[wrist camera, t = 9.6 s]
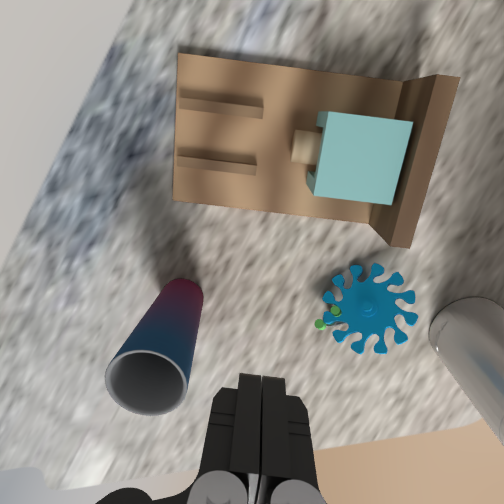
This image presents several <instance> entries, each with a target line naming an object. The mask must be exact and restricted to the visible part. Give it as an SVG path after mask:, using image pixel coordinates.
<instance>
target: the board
mask: <svg viewBox="0 0 504 504" xmlns="http://www.w3.org/2000/svg"><path fill="white" fill-rule="evenodd" d="M459 81H460V77H454V76H446V75H439V74H436V75H432V76H427V77H422V78H418V79H413V80H408V81H404V82H402V81H394V80H386V79H379V78H371V77H363V76H355V75H347V74H340V73H332V72H324V71H316V70H308V69H301V68H293V67H285V66H277V65H269V64H261V63H254V62H246V61H238V60H230V59H222V58H215V57H207V56H199V55H191V54H183V53H178V68H177V95H176V122H175V149H174V176H173V200H174V201H182V202H191V203H199V204H207V205H216V206H224V207H232V208H241V209H249V210H257V211H266V212H274V213H283V214H291V215H299V216H308V217H316V218H324V219H333V220H341V221H349V222H358V223H366V224H369V225H370V226H371V227H372V228H373V229H374V230H375V231H376V232H377V233H378V234H379V235H380V236H381V237H382V238H383V239H384V240H385V241H386V242H387V244H388V245H389V246H392V247H401V248H409V249H410V246H411V243H412V240H413V236H414V233H415V229H416V226H417V223H418V219H419V216H420V213H421V209H422V206H423V202H424V199H425V196H426V192H427V189H428V185H429V182H430V179H431V175H432V172H433V169H434V165H435V162H436V158H437V155H438V152H439V148H440V145H441V141H442V138H443V135H444V131H445V128H446V125H447V121H448V118H449V114H450V111H451V108H452V104H453V101H454V97H455V94H456V91H457V87H458V84H459ZM319 111H330V112H338V113H346V114H354V115H362V116H370V117H378V118H385V119H393V120H401V121H409V122H413V125H412V129H411V133H410V136H409V140H408V144H407V148H406V152H405V155H404V159H403V163H402V167H401V171H400V174H399V178H398V182H397V186H396V190H395V193H394V197H393V201H392V205H386V204H378V203H370V202H361V201H353V200H345V199H337V198H328V197H320V196H313V194H312V193H311V191H310V189H309V188H308V186H307V185H306V180H307V174H308V171H312V172H316V166H317V165H310V164H303V163H296V162H290V154H291V146H292V141H293V136H294V132H295V130H302V131H309V132H316V133H323V127H319V126H316V122H317V116H318V112H319Z"/></svg>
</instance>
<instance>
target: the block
mask: <svg viewBox="0 0 504 504" xmlns="http://www.w3.org/2000/svg"><path fill="white" fill-rule="evenodd" d="M412 125H413V122H409V121H401V120H393V119H385V118H378V117H370V116H362V115H354V114H346V113H338V112H330V111H319V112H318V116H317V122H316V126H319V127H323V133H322V138H321V144H320V149H319V155H318V161H317V166H316V172H312V171H308V174H307V180H306V185H307V186H308V188H309V189H310V191H311V193H312V194H313V196H320V197H328V198H337V199H345V200H353V201H361V202H370V203H378V204H386V205H392V201H393V197H394V193H395V190H396V186H397V182H398V178H399V174H400V171H401V167H402V163H403V159H404V155H405V152H406V148H407V144H408V140H409V136H410V133H411V129H412Z"/></svg>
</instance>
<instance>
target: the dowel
mask: <svg viewBox="0 0 504 504" xmlns="http://www.w3.org/2000/svg"><path fill="white" fill-rule="evenodd" d="M321 138H322V133H316V132H309V131H302V130H295V132H294V136H293V141H292V146H291V154H290V162H296V163H303V164H310V165H317V161H318V155H319V149H320V144H321Z"/></svg>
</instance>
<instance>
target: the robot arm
mask: <svg viewBox="0 0 504 504" xmlns="http://www.w3.org/2000/svg"><path fill="white" fill-rule="evenodd" d="M429 340H430V343H431V346H432V348H433V349H434V351H435V352H436V354H437V355H438V356H439V358H440V359H441V360H442V362H443V363H444V365H445V366H446V367H447V369H448V370H449V372H450V373H451V374H452V376H453V377H454V379H455V380H456V381H457V383H458V384H459V385H460V387H461V388H462V390H463V391H464V392H465V394H466V395H467V396H468V398H469V399H470V401H471V402H472V403H473V405H474V406H475V408H476V409H477V410H478V412H479V413H480V414H481V416H482V417H483V419H484V420H485V421H486V423H487V424H488V425H489V427H490V428H491V429H492V431H493V432H494V434H495V435H496V436H497V438H498V439H499V441H500V442H501V443H502V445H503V446H504V309H503V308H502V307H500V306H499V305H498V304H496V303H495V302H493V301H491V300H488V299H485V298H479V297H474V298H466V299H461V300H458V301H456V302H454V303H452V304H450V305H448V306H447V307H445V308H444V309H443V310H442V311H441V312H440V313H439V314H438V315H437V316H436V318H435V319H434V320H433V323H432V325H431V327H430V332H429ZM96 504H327V503H326V501H325V500H324V498H323V497H322V495H321V493H320V490H319V488H318V483H317V476H316V469H315V462H314V454H313V447H312V440H311V433H310V426H309V418H308V411H307V408H306V407H305V405H304V404H303V402H302V400H301V399H300V397H297V396H289V395H286V389H285V379H284V378H278V377H270V376H263V377H262V381H261V375H253V374H244V373H240V375H239V382H238V389H232V388H224V387H222V388H221V389H220V390H219V392H218V393H217V394H216V395H215V397H214V398H213V402H212V407H211V413H210V417H209V422H208V428H207V433H206V438H205V443H204V448H203V453H202V458H201V464H200V469H199V472H198V475H197V477H196V479H195V480H194V482H193V483H192V484H191V485H190V486H189V487H188V488H187V489H186V490H185V491H183V492H181V493H179V494H177V495H175V496H171V497H167V498H163V499H158V500H153V501H152V499H151V498H150V497H149V496H148V494H147V493H145V492H144V491H142V490H140V489H137V488H122V489H119V490H116V491H114V492H111V493H110V494H108V495H107V496H105V497H104V498H103V499H101V500H100V501H98V502H97V503H96Z"/></svg>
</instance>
